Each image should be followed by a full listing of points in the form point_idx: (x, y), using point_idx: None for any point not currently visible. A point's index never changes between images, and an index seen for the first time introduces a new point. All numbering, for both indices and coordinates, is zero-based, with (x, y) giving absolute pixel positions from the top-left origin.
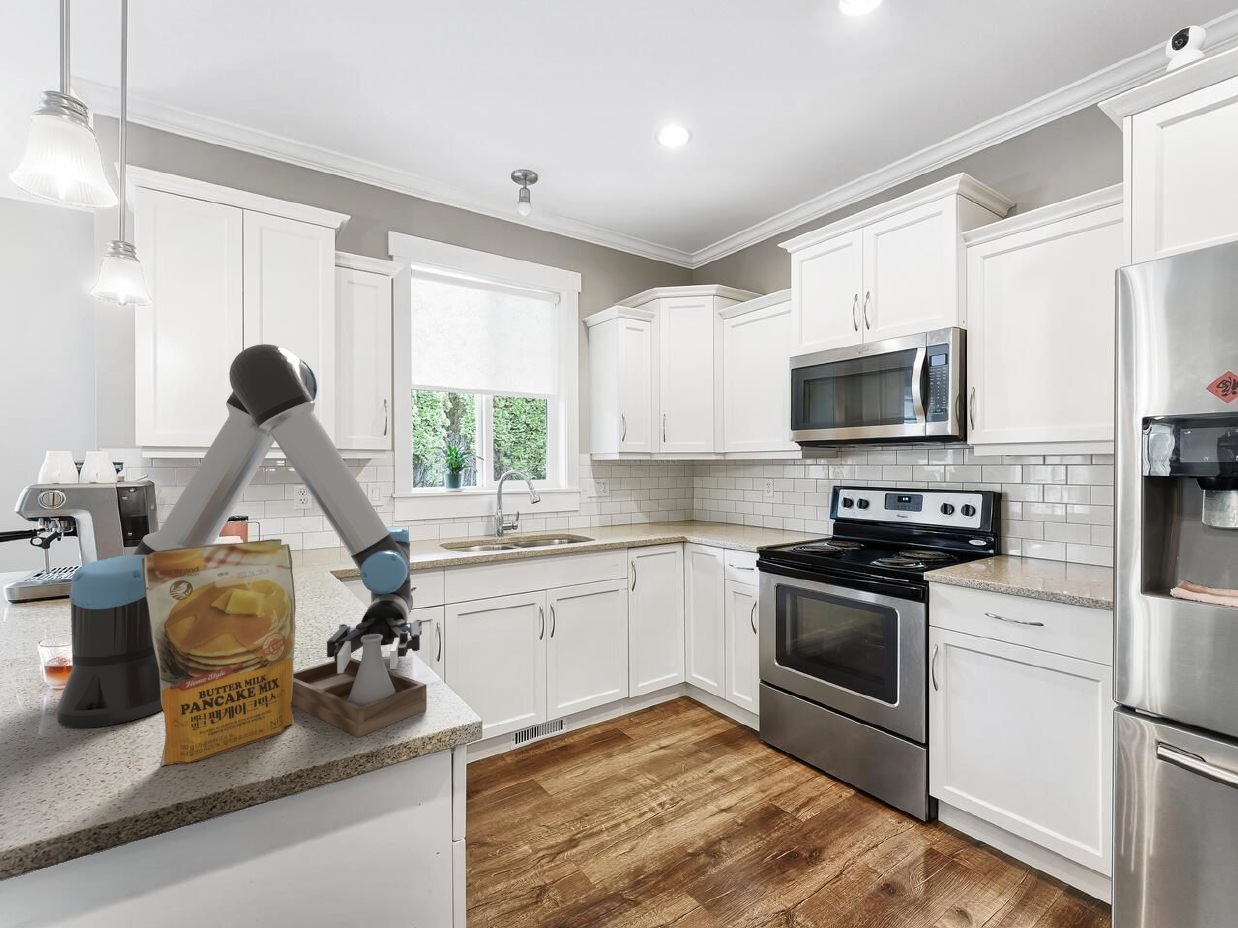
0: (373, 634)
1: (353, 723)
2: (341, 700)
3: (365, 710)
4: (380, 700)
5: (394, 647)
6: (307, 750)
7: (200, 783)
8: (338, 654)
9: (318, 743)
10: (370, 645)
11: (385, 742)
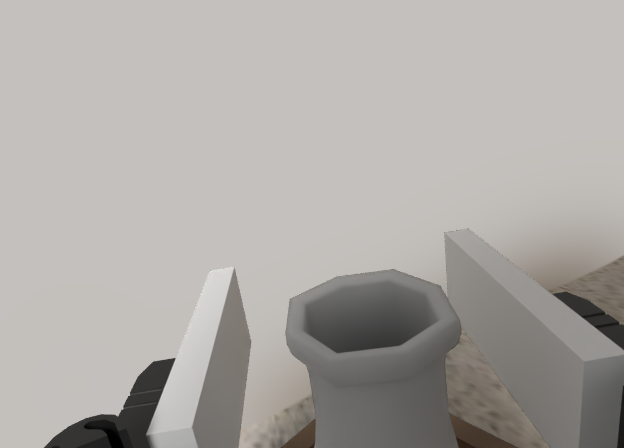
0: (378, 352)
1: None
2: (476, 435)
3: None
4: (311, 433)
5: (211, 293)
6: (488, 392)
7: (613, 303)
8: (467, 232)
9: (484, 421)
10: (362, 318)
11: (292, 421)
